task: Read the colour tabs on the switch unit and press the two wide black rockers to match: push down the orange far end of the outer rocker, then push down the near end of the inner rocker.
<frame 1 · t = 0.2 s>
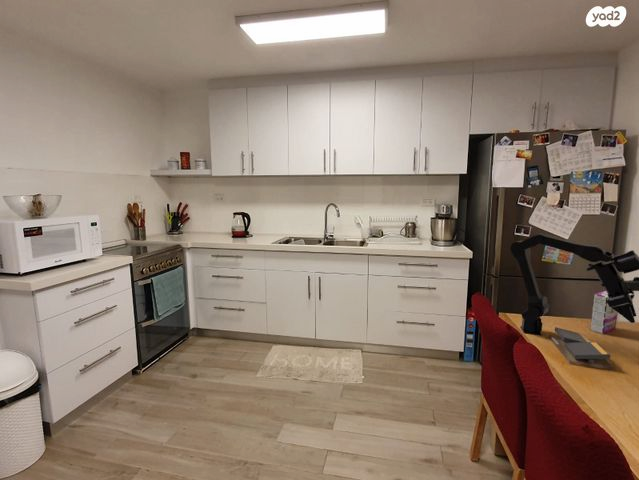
hand: (634, 319, 118), 15 cm above the table, tool tilted 30°, fingers open, 9 cm apart
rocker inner: (573, 337, 129), point 3 cm above the table, hinge at 10.0°
switch unit: (578, 352, 125), on the table
rocker outer: (586, 350, 119), point 3 cm above the table, hinge at -10.0°
candy bar box: (602, 330, 145), on the table
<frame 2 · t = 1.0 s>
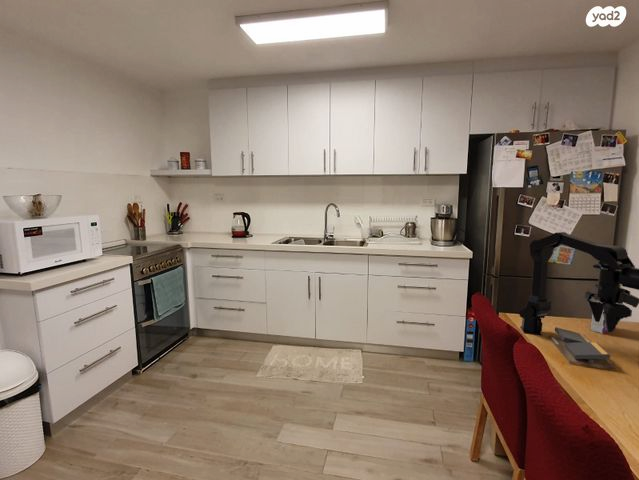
hand: (603, 326, 117), 13 cm above the table, tool pointing down, fingers open, 9 cm apart
nothing on the table moved.
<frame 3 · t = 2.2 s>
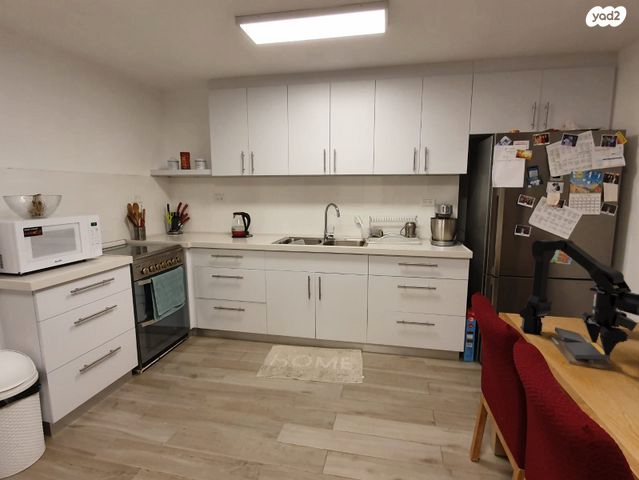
hand: (600, 348, 118), 5 cm above the table, tool pointing down
rocker outer: (586, 350, 119), point 3 cm above the table, hinge at -9.3°, touching gripper
everything else where it was.
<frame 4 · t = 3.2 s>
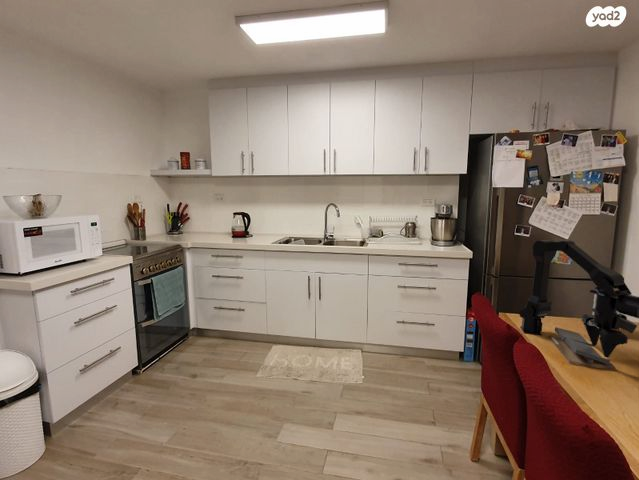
hand: (600, 350, 118), 4 cm above the table, tool pointing down, fingers open, 9 cm apart
rocker outer: (586, 350, 119), point 3 cm above the table, hinge at 13.9°
everything else where it was.
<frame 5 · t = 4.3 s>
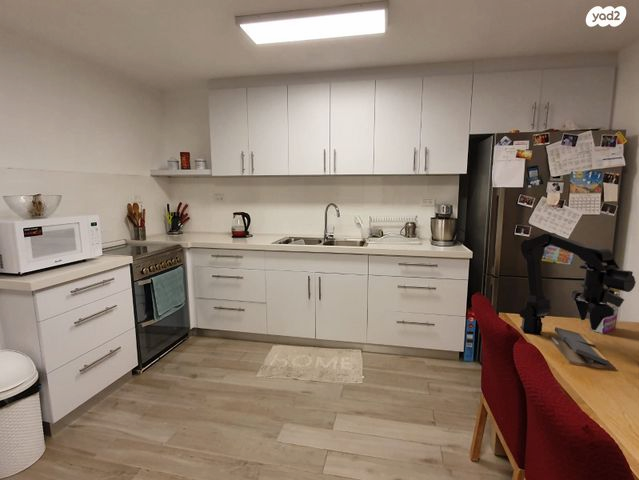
hand: (588, 324, 121), 12 cm above the table, tool pointing down, fingers open, 9 cm apart
rocker outer: (586, 350, 119), point 3 cm above the table, hinge at 18.4°
everything else where it was.
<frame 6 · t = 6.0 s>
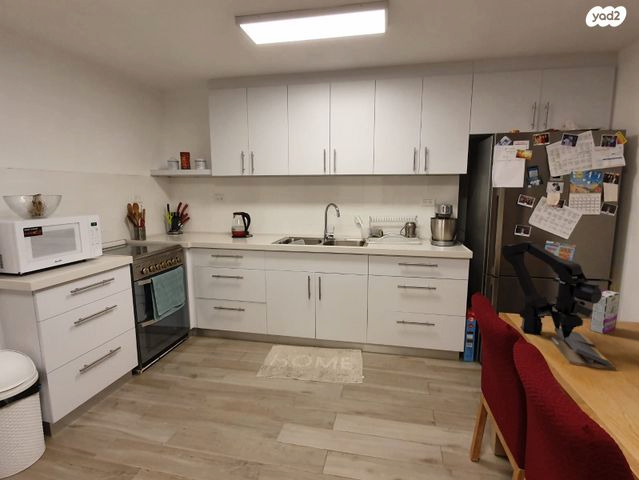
hand: (561, 333, 131), 4 cm above the table, tool pointing down
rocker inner: (573, 337, 129), point 3 cm above the table, hinge at 9.2°, touching gripper
rocker outer: (586, 350, 119), point 3 cm above the table, hinge at 19.1°
everything else where it was.
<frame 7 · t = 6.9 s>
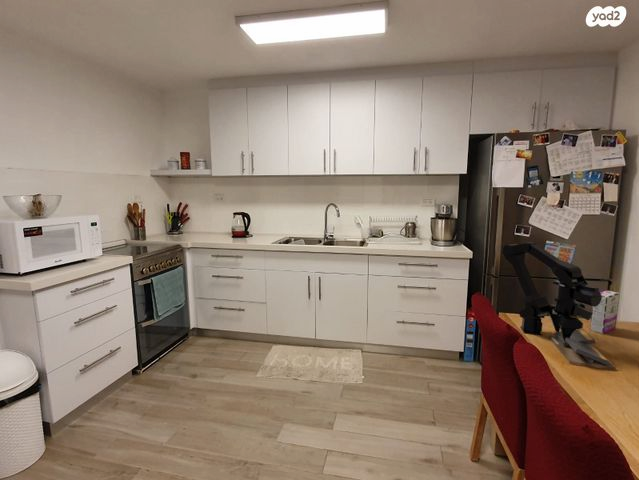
hand: (561, 336, 131), 3 cm above the table, tool pointing down, fingers open, 9 cm apart
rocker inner: (573, 337, 129), point 3 cm above the table, hinge at -15.2°
everything else where it was.
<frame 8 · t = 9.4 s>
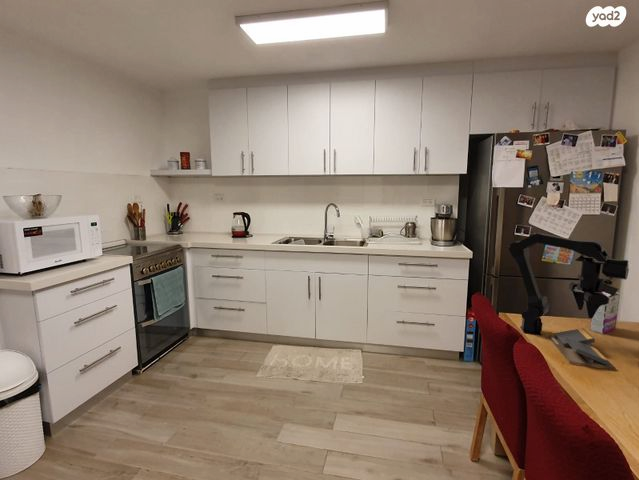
hand: (585, 313, 128), 13 cm above the table, tool pointing down, fingers open, 9 cm apart
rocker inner: (573, 337, 129), point 3 cm above the table, hinge at -20.2°
everything else where it was.
at the end: rocker outer at +19° (first picture: -10°); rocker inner at -20° (first picture: +10°) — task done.
